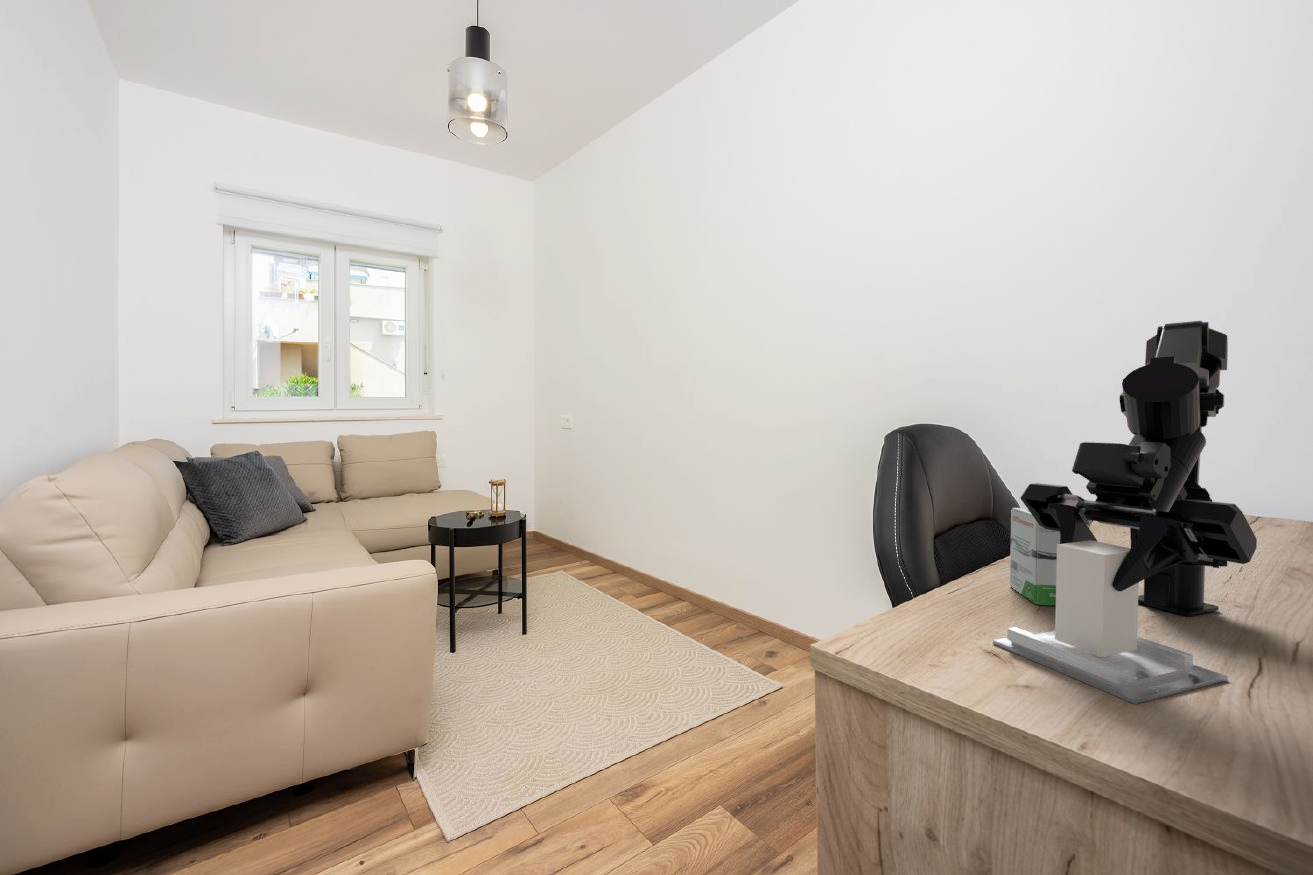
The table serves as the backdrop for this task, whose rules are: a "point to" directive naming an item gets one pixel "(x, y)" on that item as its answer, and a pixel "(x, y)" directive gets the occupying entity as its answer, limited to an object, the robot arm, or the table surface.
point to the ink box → (1033, 558)
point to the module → (1094, 599)
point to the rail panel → (1115, 666)
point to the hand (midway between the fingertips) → (1087, 581)
